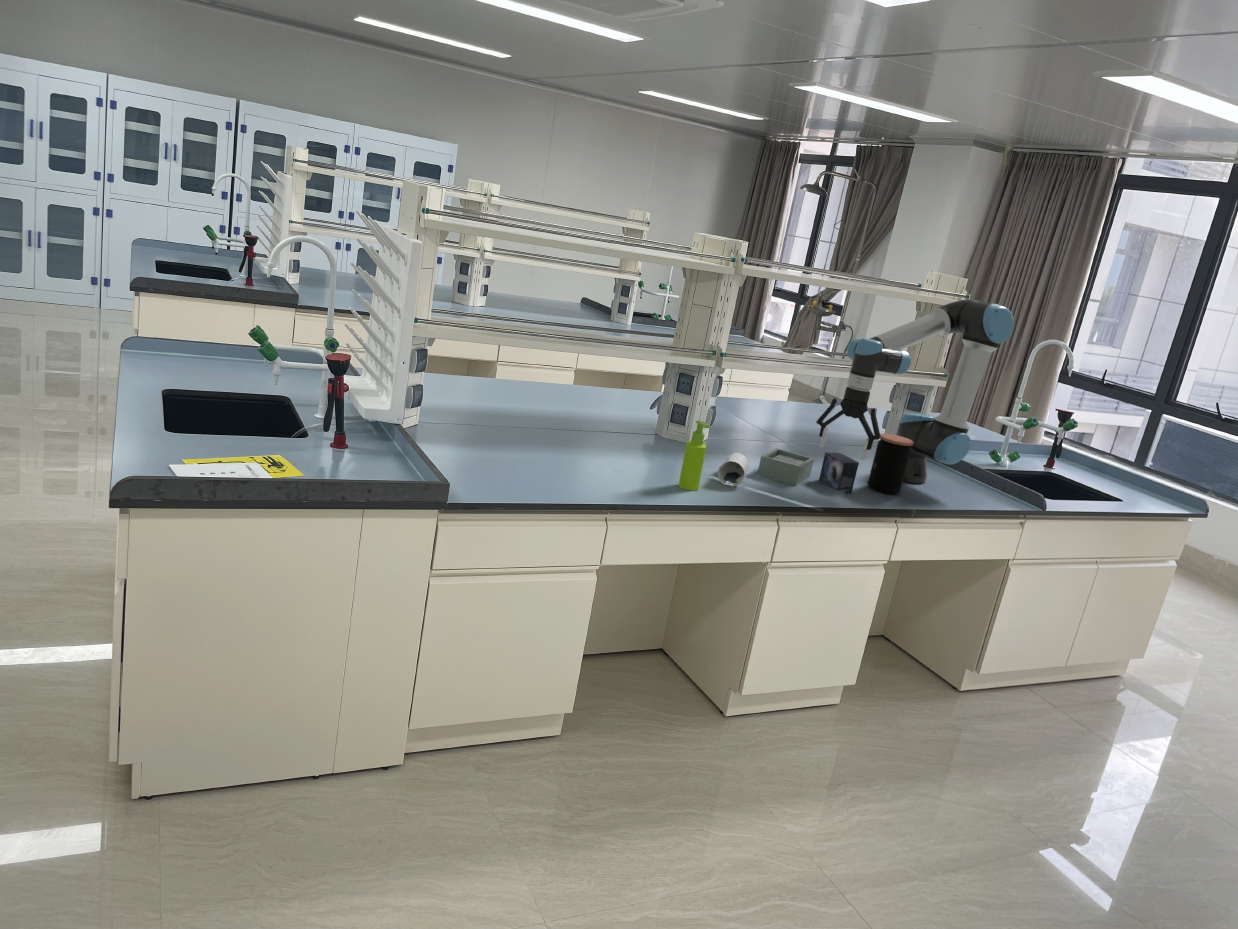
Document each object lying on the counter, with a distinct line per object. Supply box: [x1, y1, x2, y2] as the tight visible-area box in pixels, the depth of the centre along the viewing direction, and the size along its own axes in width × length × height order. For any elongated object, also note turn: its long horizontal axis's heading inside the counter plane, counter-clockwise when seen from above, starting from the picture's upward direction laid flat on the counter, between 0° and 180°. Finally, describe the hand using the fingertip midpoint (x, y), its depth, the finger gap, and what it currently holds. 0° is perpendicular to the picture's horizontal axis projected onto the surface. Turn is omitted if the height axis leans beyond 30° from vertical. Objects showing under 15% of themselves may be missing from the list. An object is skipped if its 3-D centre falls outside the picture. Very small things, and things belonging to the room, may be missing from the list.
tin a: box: [775, 454, 805, 464], centre depth 286 cm, size 9×6×5 cm
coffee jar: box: [867, 433, 913, 496], centre depth 287 cm, size 11×11×18 cm
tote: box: [756, 447, 815, 487], centre depth 283 cm, size 13×16×7 cm
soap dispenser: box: [678, 420, 711, 491], centre depth 253 cm, size 6×7×20 cm
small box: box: [818, 451, 860, 494], centre depth 281 cm, size 11×6×10 cm, turn 23°
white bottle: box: [717, 452, 750, 487], centre depth 272 cm, size 8×19×8 cm, turn 164°
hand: (842, 453), depth 279 cm, fingers open, 13 cm apart
